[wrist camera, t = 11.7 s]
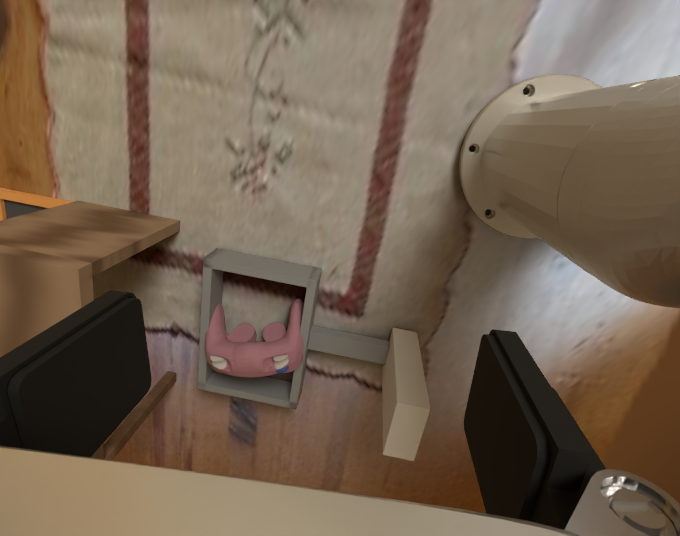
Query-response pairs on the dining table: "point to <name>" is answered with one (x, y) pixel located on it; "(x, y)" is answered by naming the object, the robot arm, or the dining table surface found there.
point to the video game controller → (255, 346)
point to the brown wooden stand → (71, 277)
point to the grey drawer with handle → (396, 354)
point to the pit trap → (24, 203)
